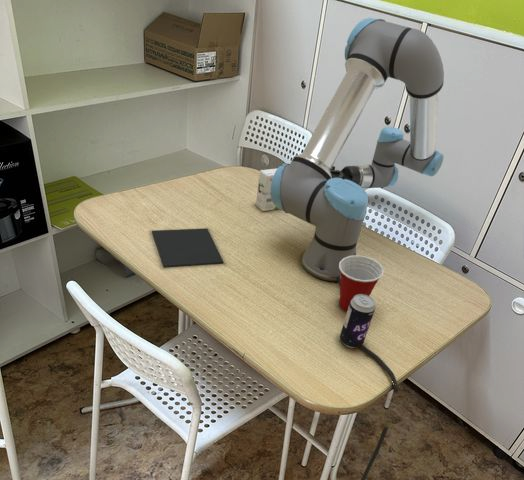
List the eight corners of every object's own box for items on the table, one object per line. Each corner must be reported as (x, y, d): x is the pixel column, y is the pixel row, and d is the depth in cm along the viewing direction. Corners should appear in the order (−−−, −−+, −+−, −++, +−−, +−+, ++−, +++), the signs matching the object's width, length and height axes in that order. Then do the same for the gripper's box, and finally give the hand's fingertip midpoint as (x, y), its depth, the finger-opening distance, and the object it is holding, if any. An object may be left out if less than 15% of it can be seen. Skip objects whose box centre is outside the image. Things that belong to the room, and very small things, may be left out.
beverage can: (346, 352, 118) (360, 310, 111) (334, 336, 122) (346, 294, 114) (367, 347, 121) (381, 306, 113) (354, 332, 124) (368, 291, 116)
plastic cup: (321, 297, 133) (331, 256, 126) (355, 291, 138) (367, 251, 130) (342, 322, 127) (355, 282, 119) (378, 315, 131) (393, 275, 123)
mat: (223, 263, 139) (223, 261, 139) (163, 267, 134) (163, 265, 134) (207, 229, 151) (207, 228, 151) (151, 232, 146) (151, 230, 146)
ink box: (276, 201, 172) (282, 166, 164) (284, 208, 169) (291, 173, 161) (254, 204, 168) (259, 169, 160) (262, 211, 165) (267, 176, 157)
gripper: (372, 205, 168) (315, 210, 160) (335, 172, 185) (281, 175, 177) (378, 183, 164) (320, 187, 156) (339, 151, 180) (284, 153, 172)
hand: (299, 180), depth 166 cm, fingers open, 13 cm apart
